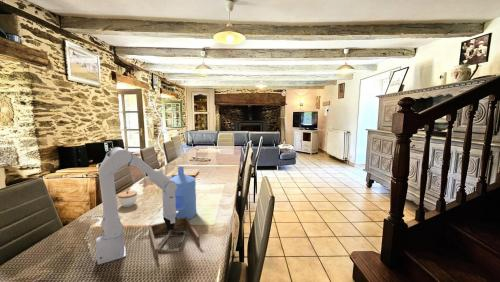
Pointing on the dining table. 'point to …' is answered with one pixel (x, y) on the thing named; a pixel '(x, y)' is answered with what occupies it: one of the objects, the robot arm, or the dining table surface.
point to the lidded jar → (127, 198)
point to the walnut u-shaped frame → (178, 224)
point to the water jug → (185, 194)
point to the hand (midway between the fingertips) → (170, 231)
